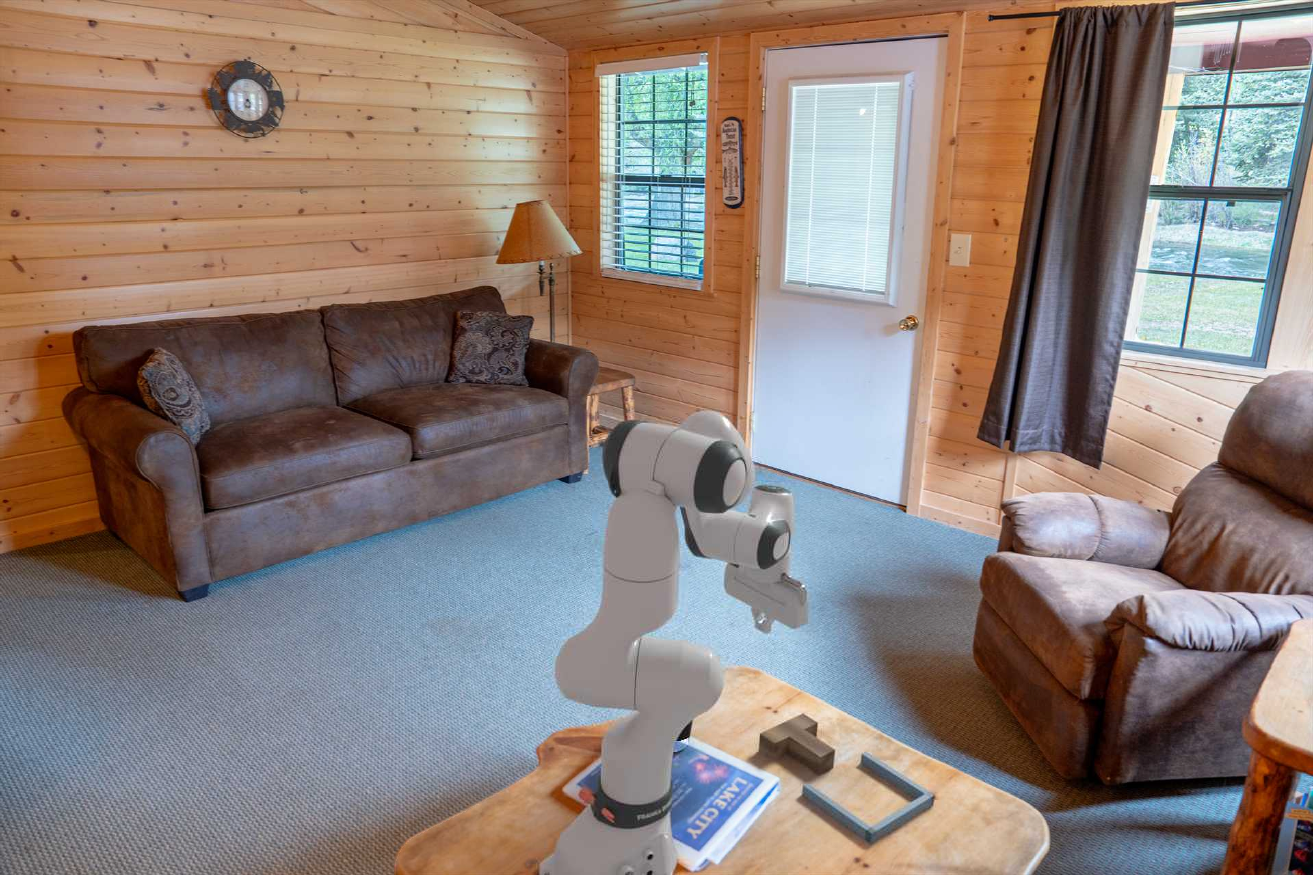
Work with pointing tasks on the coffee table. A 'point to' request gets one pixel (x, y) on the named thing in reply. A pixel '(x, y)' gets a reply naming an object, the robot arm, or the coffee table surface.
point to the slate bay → (889, 823)
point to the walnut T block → (798, 744)
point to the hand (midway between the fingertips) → (762, 630)
